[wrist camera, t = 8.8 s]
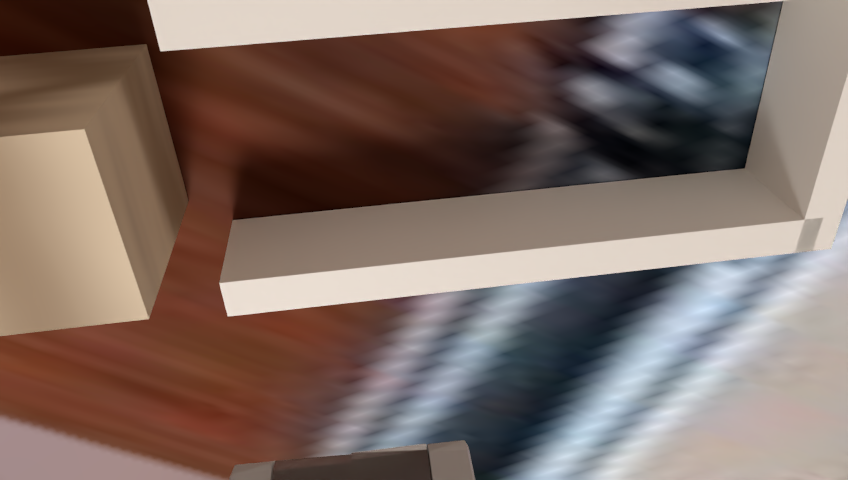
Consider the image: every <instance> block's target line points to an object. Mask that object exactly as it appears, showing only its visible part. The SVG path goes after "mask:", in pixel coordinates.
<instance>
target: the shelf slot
mask: <svg viewBox="0 0 848 480" xmlns="http://www.w3.org/2000/svg"><path fill="white" fill-rule="evenodd" d="M147 1H148V5H149V9H150V13H151V17H152V21H153V25H154V29H155V32H156V36H157V40H158V44H159V48H160V51H171V50H184V49H196V48H208V47H221V46H233V45H245V44H258V43H270V42H282V41H295V40H307V39H319V38H332V37H344V36H356V35H369V34H381V33H394V32H406V31H418V30H431V29H443V28H455V27H468V26H480V25H492V24H505V23H517V22H529V21H542V20H554V19H566V18H579V17H591V16H603V15H616V14H628V13H641V12H653V11H665V10H678V9H690V8H702V7H715V6H727V5H739V4H752V3H764V2H776V1H783V5H782V9H781V13H780V18H779V22H778V26H777V31H776V35H775V39H774V44H773V48H772V52H771V57H770V61H769V65H768V70H767V74H766V78H765V83H764V87H763V91H762V96H761V100H760V105H759V109H758V113H757V118H756V122H755V126H754V131H753V135H752V139H751V144H750V148H749V152H748V157H747V161H746V165H745V168H743V169H733V170H723V171H714V172H704V173H694V174H684V175H674V176H664V177H654V178H644V179H634V180H625V181H615V182H605V183H595V184H585V185H575V186H565V187H555V188H545V189H536V190H526V191H516V192H506V193H496V194H486V195H476V196H466V197H456V198H447V199H437V200H427V201H417V202H407V203H397V204H387V205H377V206H367V207H358V208H348V209H338V210H328V211H318V212H308V213H298V214H288V215H279V216H269V217H259V218H249V219H239V220H233V221H232V226H231V231H230V235H229V240H228V245H227V249H226V254H225V259H224V263H223V268H222V273H221V278H220V282H219V284H220V288H221V292H222V296H223V300H224V304H225V308H226V312H227V315H228V316H236V315H245V314H254V313H263V312H272V311H281V310H290V309H299V308H308V307H317V306H325V305H334V304H343V303H352V302H361V301H370V300H379V299H388V298H397V297H406V296H415V295H424V294H432V293H441V292H450V291H459V290H468V289H477V288H486V287H495V286H504V285H513V284H522V283H530V282H539V281H548V280H557V279H566V278H575V277H584V276H593V275H602V274H611V273H620V272H628V271H637V270H646V269H655V268H664V267H673V266H682V265H691V264H700V263H709V262H718V261H727V260H735V259H744V258H753V257H762V256H771V255H780V254H789V253H798V252H807V251H816V250H825V249H831V248H832V245H833V242H834V239H835V235H836V232H837V229H838V226H839V223H840V220H841V217H842V214H843V211H844V208H845V205H846V202H847V199H848V0H147Z"/></svg>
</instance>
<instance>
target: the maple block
mask: <svg viewBox="0 0 848 480" xmlns="http://www.w3.org/2000/svg"><path fill="white" fill-rule="evenodd" d="M187 204H188V197H187V193H186V190H185V186H184V182H183V178H182V175H181V171H180V167H179V163H178V160H177V156H176V152H175V149H174V145H173V141H172V137H171V134H170V130H169V126H168V123H167V119H166V115H165V111H164V108H163V104H162V100H161V97H160V93H159V89H158V85H157V82H156V78H155V74H154V70H153V67H152V63H151V59H150V56H149V52H148V48H147V44H142V45H130V46H118V47H106V48H95V49H83V50H71V51H59V52H47V53H36V54H24V55H12V56H0V336H5V335H13V334H22V333H31V332H39V331H48V330H57V329H65V328H74V327H83V326H92V325H100V324H109V323H118V322H126V321H135V320H144V319H149V317H150V314H151V311H152V308H153V305H154V303H155V300H156V297H157V294H158V291H159V288H160V285H161V282H162V279H163V276H164V273H165V270H166V267H167V264H168V261H169V258H170V255H171V252H172V249H173V246H174V243H175V240H176V237H177V234H178V231H179V228H180V225H181V222H182V219H183V216H184V213H185V210H186V207H187Z"/></svg>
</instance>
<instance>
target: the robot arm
mask: <svg viewBox="0 0 848 480" xmlns="http://www.w3.org/2000/svg"><path fill="white" fill-rule="evenodd" d="M229 480H475V477H474V472H473V467H472V462H471V457H470V453H469V448H468V445H467V444H466V442H465V441H464V440H462V441H453V442H444V443H435V444H427V447H426V444H420V445H412V446H404V447H396V448H388V449H379V450H371V451H363V452H355V453H351V454H350V455H339V456H327V457H315V458H303V459H291V460H280V461H271V462H261V463H250V464H240V465H235V466H234V469H233V471H232V473H231V475H230V479H229Z"/></svg>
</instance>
